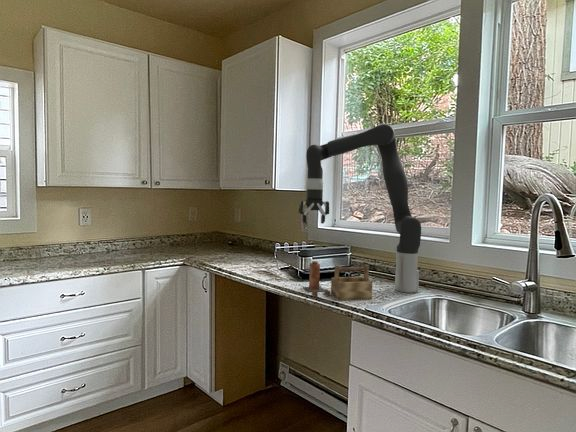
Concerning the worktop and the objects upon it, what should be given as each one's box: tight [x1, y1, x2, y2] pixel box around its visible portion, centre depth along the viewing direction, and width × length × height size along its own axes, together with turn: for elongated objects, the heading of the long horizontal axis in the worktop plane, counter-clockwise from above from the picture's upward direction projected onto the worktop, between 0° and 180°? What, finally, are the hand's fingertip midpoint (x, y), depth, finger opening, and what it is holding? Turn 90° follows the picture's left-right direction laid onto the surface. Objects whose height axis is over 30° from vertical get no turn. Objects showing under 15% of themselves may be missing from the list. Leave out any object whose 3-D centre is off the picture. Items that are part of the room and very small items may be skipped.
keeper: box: [311, 288, 331, 298], centre depth 165 cm, size 7×4×2 cm, turn 103°
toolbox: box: [330, 264, 373, 301], centre depth 164 cm, size 14×10×13 cm
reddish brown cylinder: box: [308, 260, 321, 290], centre depth 174 cm, size 4×4×12 cm
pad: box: [302, 285, 325, 293], centre depth 175 cm, size 8×8×1 cm
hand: (313, 223), depth 186 cm, fingers open, 8 cm apart
